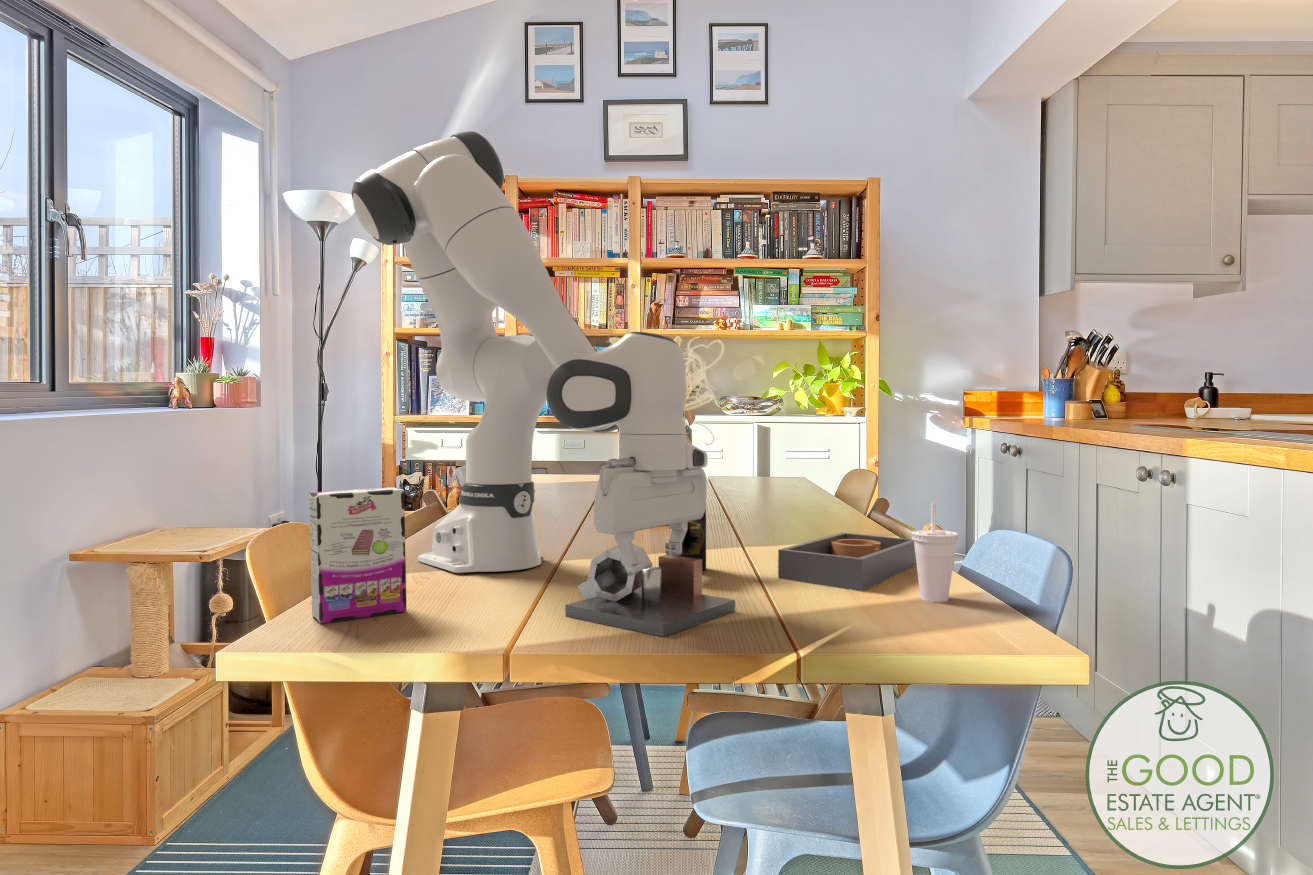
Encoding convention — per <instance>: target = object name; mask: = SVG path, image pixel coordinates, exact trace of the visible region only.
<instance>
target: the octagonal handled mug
mask: <svg viewBox="0 0 1313 875" xmlns="http://www.w3.org/2000/svg"><path fill="white" fill-rule="evenodd" d="M633 547H634V550H635V551H636V552H639V564H638V565H636V566H632V567H627V566H623V565H622V563H621V551H620V549H619V547H618V545H615V546H613V547H611V548H608V549H606V550H605V551H604V552H601V553H600V554H599V555H596V556H595V557H593V558H591V561H590V565H589V569H588V574H587V580H586V581H584V582H582V583H580V584H578V585H577V588H578V591H579V593H580V594H581V596H582V597H583V600H585V599H589V598H593V597H596V596H599V597H602V598H605V599H608V600H611V601H614V602H616V601H618V600H619V599H621V598H623V597H624V596H626V595H628V594H629V593H631V592H633V591H635V590H636V589H638V588H640V587H641V586H642V568H643V567H653V562H652V561H651V559H650V557H649V555H648V554H647V552H646V550H645V548H644V547H643V546H640V545H636V544H633Z"/></svg>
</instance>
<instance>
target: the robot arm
mask: <svg viewBox="0 0 1313 875" xmlns="http://www.w3.org/2000/svg"><path fill="white" fill-rule="evenodd" d="M504 182H505V176H504V170H503V166H502V163H501V160H500V157H499V156H498V154H497V152H496V151H495V149H494V147H493V145H492V143H490V141H489V140H488V139H487V138H485V136H483V135H481V134H480V133H478V132H476V131H471V130H470V131H461V132H456V133H453V134H451V135H450V136H449V137H446V138H442V139H439V140H435V141H431V142H428V143H425V144H422V145H419V146H417V147H414V148H412V149H410V151H409V152H406V153H404V154H402V155H400V156H397V157H395V158H394V159H392V160H390V161H388V162H386V163H384V164H383V165H381V166H379V167H378V168H377V169H369V170H368V171H366V172H365V173H363V174H362V175H360V176H359V177H358V178H357V179H356V180H354V182H353V185H352V189H351V198H352V202H353V208H354V213H355V215H356V218H357V220H358V222H359V223H360V225H361V226H362V227H363V229H364V230H365V231H366V232H368V234H370V235H371V237H372V238H373V239H375V241H376V242H379V243H381V244H384V245H386V246H395V245H400V244H403V245H402V246H403V248H404V250H405V253H406V257H407V259H408V260H409V263H410V266H411V268H412V270H413V272H414V275H415V277H416V279H417V280H418V283H419V284H420V287H421V289H422V292H423V293H424V295H425V297H426V300H427V302H428V304H429V306H430V308H431V310H432V312H433V314H434V317H435V320H436V322H437V323H436V324H437V326H438V330H439V336H440V343H441V344H440V345H441V352H440V353H439V356H438V358H437V362H436V365H435V366H436V367H435V373H436V374H435V375H436V379H437V381H438V384H439V386H440V387H441V389H442V390H443V391H444V392H445V393H446V394H448V395H449V396H451V397H455V398H457V399H460V400H465V401H467V402H485V404H484V408H483V409H484V410H483V413H482V416H481V417H480V419H479V422H478V424H477V425H476V426H475V427H474V428H473V429H471V431H470V432H469V433H468V435H467V437H466V441H465V482H464V483H463V484H462V486H455V489H458V490H459V489H460V490H459V491H455V494H460V495H459V499H458V503H459V504H458V505H457V506H456V507H455V508H454V509H453V510H452V511H450V513H449V514H448V515H447V516H446V517H445V518H443V519H442V520H441V521H440V522H439V523H438V524H436V526H435V527H434V529H433V534H432V546H431V548H432V549H431V550H432V551H428V552H425V553H422V554H420V555H418V557H417V562H420V563H423V564H426V565H430V566H432V567H437V568H439V569H442V570H446V571H449V572H452V573H457V574H459V573H461V574H463V573H478V572H480V573H483V572H484V573H485V572H486V573H487V572H490V573H491V572H495V573H496V572H509V571H510V572H511V571H518V570H519V571H520V570H526V569H530V568H534V567H537V566H539V565H541V564H542V552H541V551H540V550H539V545H538V536H537V524H536V515H535V513H534V510H533V504H534V502H535V493H536V490H535V483H534V481H532V473H533V472H532V467H533V466H532V465H533V460H532V459H533V442H534V441H533V440H534V433H535V430H536V426H537V423H538V419H539V417H540V414H541V411H542V410H543V408H544V405H545V404H546V402H547V405H548V408H549V410H550V412H551V414H552V415H553V417H554V418H555V419H556V420H557V421H558V422H559V423H560V424H563V426H566V427H568V428H570V429H572V430H577V431H585V432H594V433H597V434H598V433H601V434H605V433H611V432H613V431H615V430H619V450H618V451H619V452H618V453H619V458H618V459H617V458H609V459H608V460H607V461H606V463H605V464H604V465H603V466H602V468H601V469H600V470H599V475H598V476H599V477H598V481H597V484H596V488H595V495H594V504H593V505H594V506H593V519H592V521H593V525H594V528H595V529H596V531H597V532H598V533H600V534H607V535H614V540H615V543H616V544H617V545H616V546H618V547H619V549H620V551H621V563H622V565H623V566H627V567H632V566H636V565H638V564H639V552H636V551H635V550H634V547H633V545H634V544H633V541H635V532H637V531H644V530H647V529H653V528H655V529H656V528H659V527H660V528H661V527H664V526H669V530H671V532H670V534H671V535H670V534H669V539H668V541H666V542H665V543H664V544H665V550H664V552H665V555H667V556H678V555H681V554H682V542H683V540H684V537H685V534H686V532H687V521H693V520H698V519H701V518H702V517H703V515H704V512H705V510H706V511H707V491H708V490H707V476H706V472H705V470H704V469H703V468H705V467H707V466H708V454H707V452H706V451H705V450H703V449H701V448H699V447H697V446H695V445H693V444H692V443H690V442H688V441H687V428H686V425H685V422H684V420H685V418H684V412H685V407H686V403H687V374H686V373H687V370H686V363H685V362H686V361H685V357H684V355H685V354H684V352H683V350H682V347H680V345H679V343H678V342H676V341H675V340H673V339H672V338H670V337H668V336H664V335H661V334H657V333H651V332H646V331H630V332H627V333H625V334H624V335H623V336H622V337H621V338H620V339H619V340H617V341H616V342H614V343H612V344H610V345H609V346H606V347H605V348H602V349H601V350H598V351H597V349H596V348H595V347H594V345H593V344H592V343H591V341H590V339H589V338H588V337H587V335H586V334H585V333H584V331H583V330H582V328H581V326H580V325H579V324H578V322H577V320H575V318H574V317H573V315H572V314H571V312H570V311H569V309H568V308H567V306H566V305H565V303H564V301H563V300H562V299H561V297H560V294H559V293H558V290H557V289H556V287H555V285H554V282H553V280H552V278H551V276H550V274H549V272H548V270H547V267H546V265H545V263H544V261H543V258H542V257H541V255H540V252H539V251H538V248H537V246H536V243H535V242H534V240H533V237H532V235H531V234H530V232H529V230H528V229H527V226H526V225H525V223H524V221H523V220H522V218H521V216H520V215H519V213H518V212H517V210H516V209H515V207H514V206H513V204H512V203H511V201H510V200H509V199H508V197H507V196H506V194H504V192H503V191H502V189H503V185H504ZM497 307H499V308H501V309H502V310H504V311H505V312H507V313H508V314H510V315H511V316H512V317H514V319H516V320H517V321H518V322H520V323H521V324H522V325H523V326H524V327H525V328H526V330H528V332H529V333H530V335H529V334H516V335H514V334H513V335H502V336H500V335H499V334H498V333H497V331H496V329H495V324H494V320H493V319H494V318H493V312H494V311H495V310H496V308H497Z"/></svg>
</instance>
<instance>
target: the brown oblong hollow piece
mask: <svg viewBox="0 0 1313 875" xmlns="http://www.w3.org/2000/svg"><path fill="white" fill-rule="evenodd" d="M880 550H881V543H880V542H878V541H874V540H865V539H838V540H833V541H831V555H839V556H847V557H856V558H860V557H862V556H865V555H868V554H871V553H874V552H877V551H880Z"/></svg>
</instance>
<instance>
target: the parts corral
mask: <svg viewBox="0 0 1313 875" xmlns="http://www.w3.org/2000/svg"><path fill="white" fill-rule="evenodd" d="M838 539H865V540H874V541H878V542H880V543H881V550H880V551H877V552H874V553H871V554H868V555H865V556H862V557H860V558H856V557H847V556H839V555H831V541H833V540H838ZM777 552H778V557H777V558H778V560H777V561H778V566H777V568H778V569H777V574H778V576H777V578H778V580H779V579H780V580H786V581H793V582H800V583H806V584H811V585H818V586H825V587H831V588H837V587H838V588H837V589H843V588H844V589H845V590H849V589H852V590H851V591H857V592H864V591H866V590H868V589H870V588H873V587H874V586H877V585H878V584H881V583H883V582H885V581H887V580H889V579H891V578H893V577H895V576H897V575H899V574H902V573H903V572H905V571H907V570H909V569H911V568H913V567H915V566H914V565H916V564H917V563H916V555H915V546H914V540H913V539H912V538H903V537H893V536H892V537H891V536H883V535H881V536H880V535H874V534H873V535H872V534H861V533H850V532H840V533H836V534H832V535H828V536H825V537H820V538H818V539H814V540H810V541H805V542H802V543H798V544H794V545H791V546H787V547H784V548H780V549H778V551H777ZM916 566H917V565H916ZM906 569H907V570H906ZM898 573H899V574H898ZM894 575H895V576H894ZM892 576H893V577H892ZM890 577H891V578H890ZM844 589H843V590H844Z"/></svg>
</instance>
